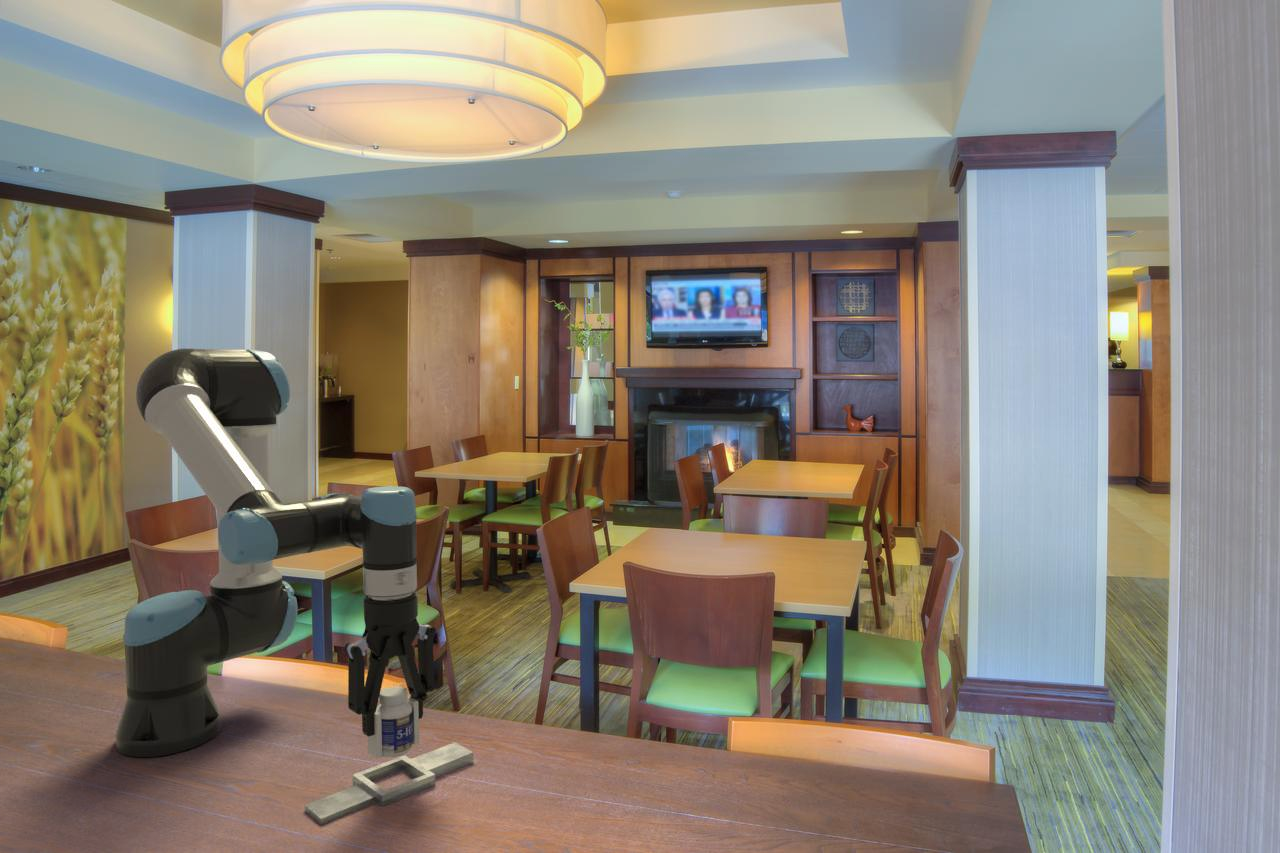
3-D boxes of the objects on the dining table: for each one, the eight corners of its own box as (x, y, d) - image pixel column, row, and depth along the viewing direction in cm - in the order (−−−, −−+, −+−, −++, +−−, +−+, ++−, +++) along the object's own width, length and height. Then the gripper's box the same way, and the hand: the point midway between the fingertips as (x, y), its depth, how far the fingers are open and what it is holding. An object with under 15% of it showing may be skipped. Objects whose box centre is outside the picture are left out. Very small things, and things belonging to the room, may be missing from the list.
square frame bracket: (327, 829, 110) (326, 818, 110) (299, 805, 116) (298, 794, 116) (480, 766, 128) (479, 756, 127) (449, 748, 133) (448, 738, 133)
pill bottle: (402, 759, 118) (400, 699, 117) (368, 756, 119) (367, 696, 118) (419, 743, 123) (418, 685, 123) (387, 740, 124) (385, 683, 124)
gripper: (343, 611, 110) (347, 778, 112) (458, 586, 124) (461, 735, 125) (317, 601, 116) (322, 760, 117) (431, 577, 129) (434, 721, 130)
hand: (393, 747), depth 121 cm, fingers closed on pill bottle, 5 cm apart
